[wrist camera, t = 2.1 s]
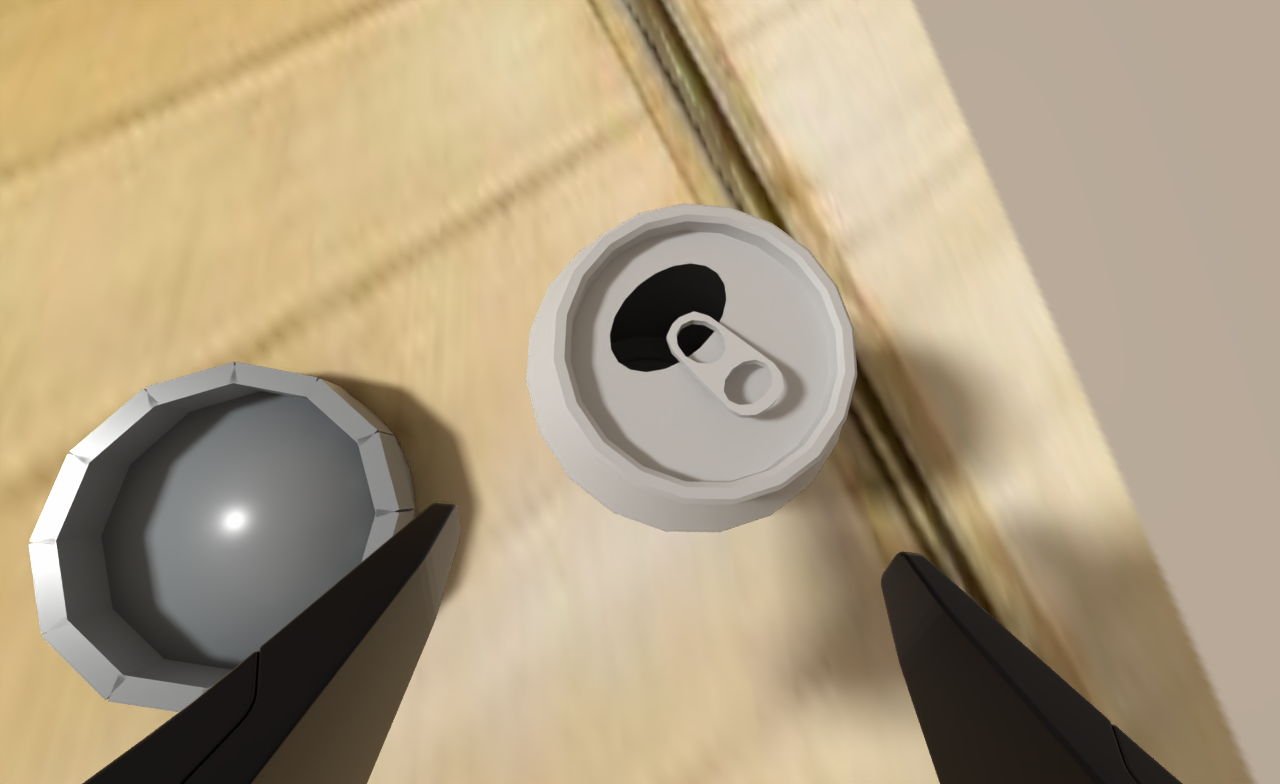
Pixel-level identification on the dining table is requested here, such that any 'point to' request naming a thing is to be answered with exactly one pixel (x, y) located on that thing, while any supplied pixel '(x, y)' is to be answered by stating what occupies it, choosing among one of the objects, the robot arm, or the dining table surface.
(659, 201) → the dining table surface
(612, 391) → the can
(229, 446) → the ring coaster
